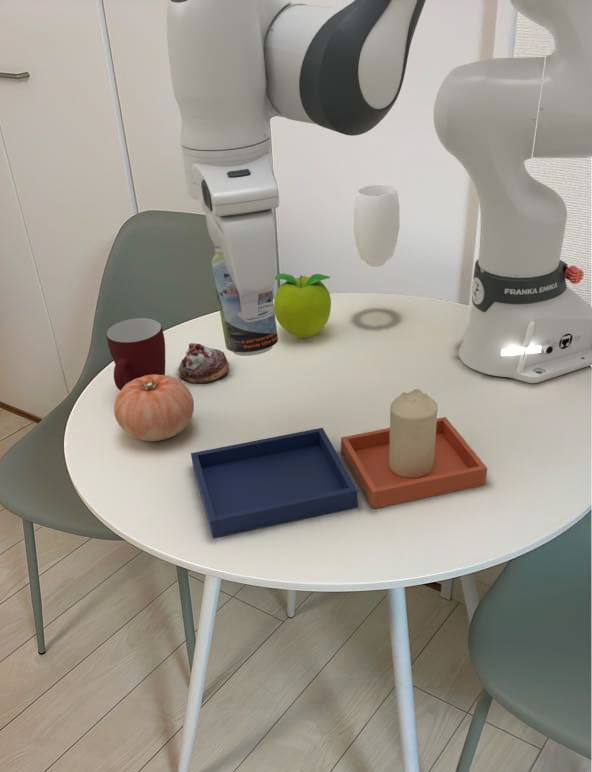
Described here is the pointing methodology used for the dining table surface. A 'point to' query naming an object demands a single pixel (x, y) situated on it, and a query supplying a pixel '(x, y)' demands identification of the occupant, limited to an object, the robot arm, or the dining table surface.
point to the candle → (412, 434)
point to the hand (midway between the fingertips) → (243, 303)
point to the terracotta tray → (384, 487)
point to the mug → (136, 349)
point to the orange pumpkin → (154, 407)
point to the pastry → (203, 364)
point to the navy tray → (272, 482)
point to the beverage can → (238, 330)
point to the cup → (376, 223)
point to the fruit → (302, 304)
